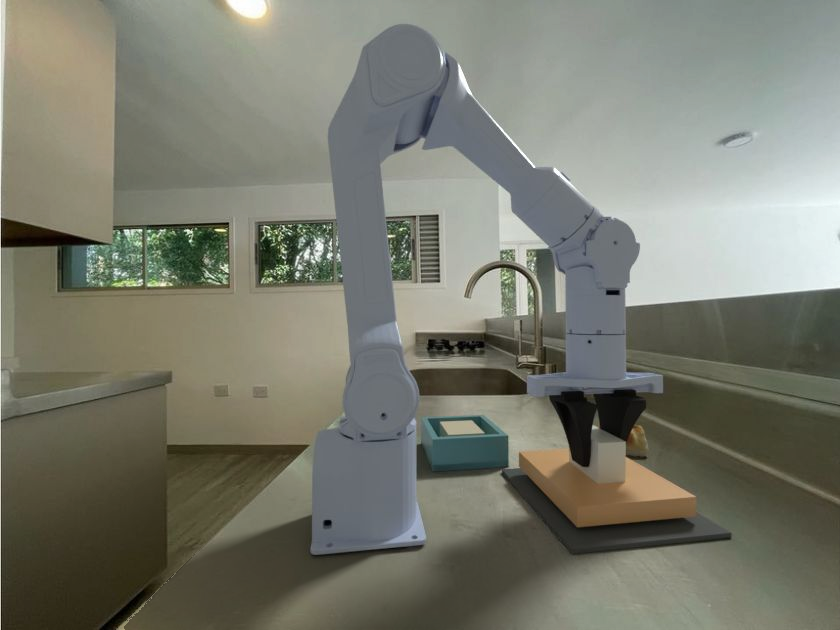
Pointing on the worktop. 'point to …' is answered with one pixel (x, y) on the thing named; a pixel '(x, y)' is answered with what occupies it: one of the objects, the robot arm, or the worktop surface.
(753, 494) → the worktop surface
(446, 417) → the box
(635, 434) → the pastry
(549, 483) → the lid
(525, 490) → the mat
